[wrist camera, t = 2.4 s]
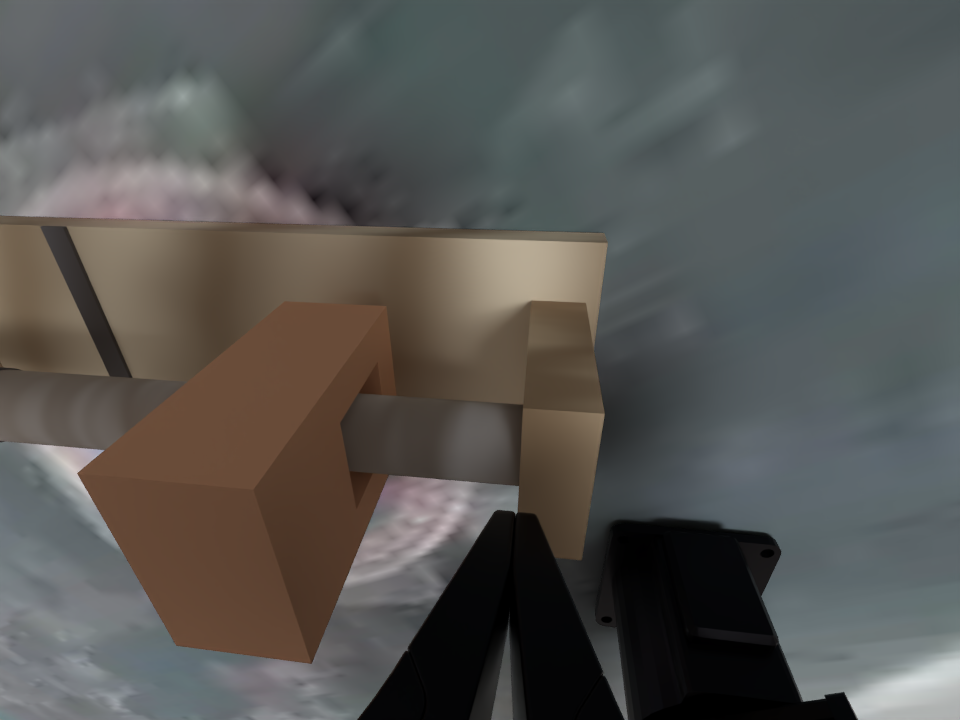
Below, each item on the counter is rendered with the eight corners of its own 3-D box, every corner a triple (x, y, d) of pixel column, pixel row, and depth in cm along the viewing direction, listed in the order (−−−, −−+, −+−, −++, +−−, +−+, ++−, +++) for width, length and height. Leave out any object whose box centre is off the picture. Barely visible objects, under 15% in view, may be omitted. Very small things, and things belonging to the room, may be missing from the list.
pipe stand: (604, 232, 14) (640, 332, 8) (577, 444, 18) (590, 607, 12) (-100, 213, 17) (-428, 279, 11) (14, 401, 21) (-184, 520, 15)
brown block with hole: (386, 305, 13) (252, 489, 7) (401, 442, 16) (311, 663, 10) (284, 301, 14) (77, 472, 8) (315, 435, 16) (176, 645, 10)
